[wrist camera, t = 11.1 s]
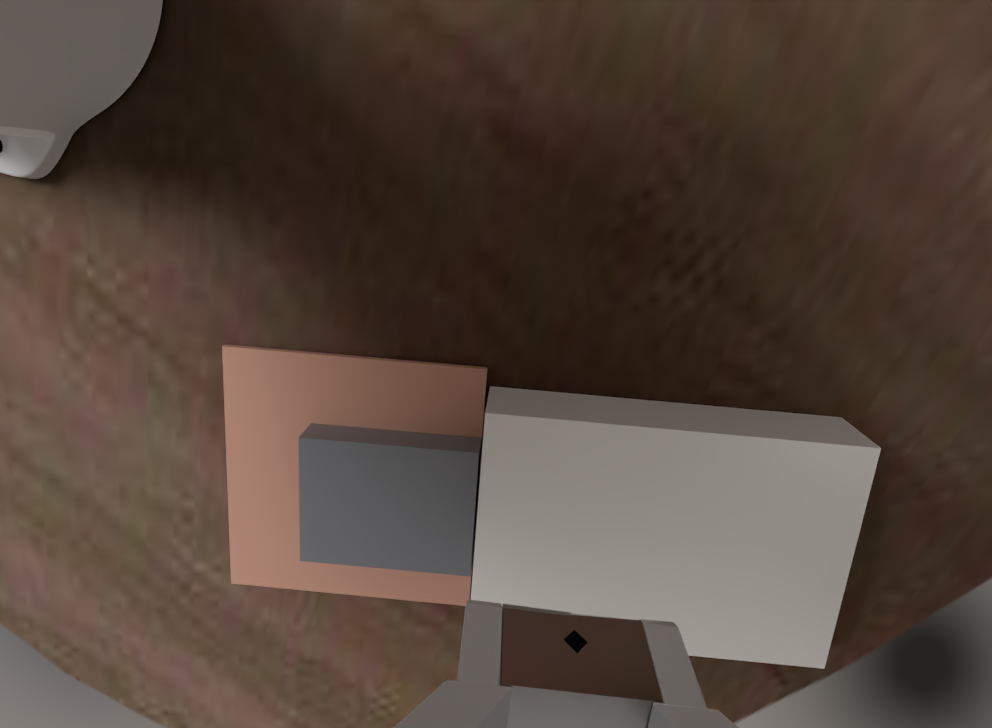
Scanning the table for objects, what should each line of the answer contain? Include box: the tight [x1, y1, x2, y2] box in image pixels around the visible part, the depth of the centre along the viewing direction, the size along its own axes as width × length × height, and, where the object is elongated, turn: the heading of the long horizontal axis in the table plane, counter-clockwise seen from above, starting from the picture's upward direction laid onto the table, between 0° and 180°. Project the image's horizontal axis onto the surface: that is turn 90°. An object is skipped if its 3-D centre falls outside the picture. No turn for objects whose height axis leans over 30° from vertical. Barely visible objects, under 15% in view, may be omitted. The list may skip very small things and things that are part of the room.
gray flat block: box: [299, 423, 482, 576], centre depth 35 cm, size 9×7×2 cm
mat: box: [222, 344, 487, 606], centre depth 36 cm, size 14×14×1 cm
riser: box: [471, 386, 881, 669], centre depth 34 cm, size 18×12×4 cm, turn 86°
